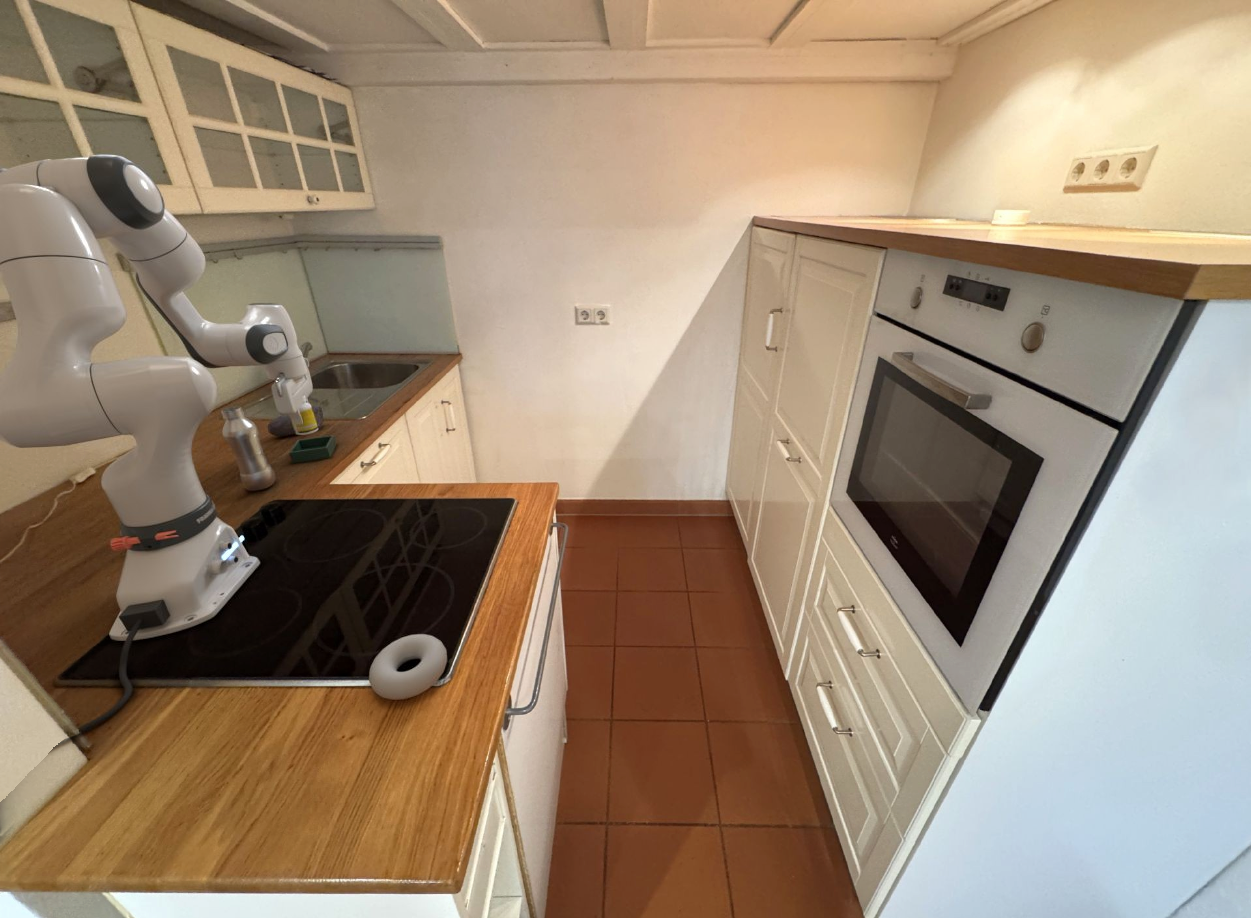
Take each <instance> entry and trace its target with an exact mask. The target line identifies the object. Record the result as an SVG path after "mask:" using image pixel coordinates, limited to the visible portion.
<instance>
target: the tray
mask: <svg viewBox="0 0 1251 918" xmlns="http://www.w3.org/2000/svg"><path fill="white" fill-rule="evenodd" d="M336 447H337V442H336V438H335V436H334V434H333V435H332V434H331V435H324V436H318V437H311V438H303V439H297V440H296V442H295V443H294V445H293V446H292V448H291V449H290V450H289V453H288V455H289V457H290V460H291V462H292V464H297V463H303V462H310V461H317V460H324V459H330V458H331V457H332V455H333V453H334V451H335V449H336Z"/></svg>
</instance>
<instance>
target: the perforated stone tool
mask: <svg viewBox="0 0 1251 918" xmlns="http://www.w3.org/2000/svg"><path fill="white" fill-rule="evenodd" d="M311 407H312V410H313V413H314V416H315V419H316V422H317V425H318V429H320V428H321V426H322V425H323V422H324V412H323V408H322V407H321V406H319V405H314V406H311ZM267 431H268V433H269V434H270V435H272V436H275V437H288V436H291V435H297V434H296V433H295V430H294V427H293V424H292V421H291V418H290V415H289V414H288V415H279V416H277V417H275V418H273V419H272V420H271V421H270V422H269V423H268V424H267Z"/></svg>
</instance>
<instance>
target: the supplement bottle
mask: <svg viewBox="0 0 1251 918" xmlns="http://www.w3.org/2000/svg"><path fill="white" fill-rule="evenodd" d="M303 399H304V403H303V404H302V405H301V406H300V408H299V410H300V411H299V413H300V415H301V416H302V417H303V420H304V422H303V424H301V425H296V424H295V423H294V420H293V418H292V417H291V416H290V418H291V421H292V424H293V427H294V430H295V433H296V434H295V435H297V436H308V435H312V434H313V433H316V432H317V431H319V428H318V425H317V422H316V419H315V416H314V413H313V410H312V407H313V406H312V405H311V404H310V402H308V403H306V398H305V395H304V396H303ZM289 415H290V414H289Z"/></svg>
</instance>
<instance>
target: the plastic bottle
mask: <svg viewBox="0 0 1251 918" xmlns="http://www.w3.org/2000/svg"><path fill="white" fill-rule="evenodd" d="M220 412H221V415H222V418H223V420H225V422H224V425H223V427H222V430H221V432H222V437H223V438H224V440H225V441H226V443H227V445H228V447H229V448H230V450H231V452H232V454H233V456H234V458H235V460H236V463H237V467H238V470H239V478H240V482H241V484H242V485H243V487H244V488H245V489H246V490H248V491H253V492H255V491H260V490H264V489H267V488H270V487H271V486H272V485H274V483H275V481H276V473H275V471H274V469H273V468H272V466H271V465H270V464H269V461H268V459H267V457H266V455H265V453H264V450H263V447H262V442H261V438H260V434H259V429H258V426H257V424H256V423H255V422H254V421H252V420H251V419H249V418H247V417H246V416H245V412H244V411H243V408H242V406H239V405H234V406H229V407H225V408H223V409H221V411H220Z"/></svg>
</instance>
